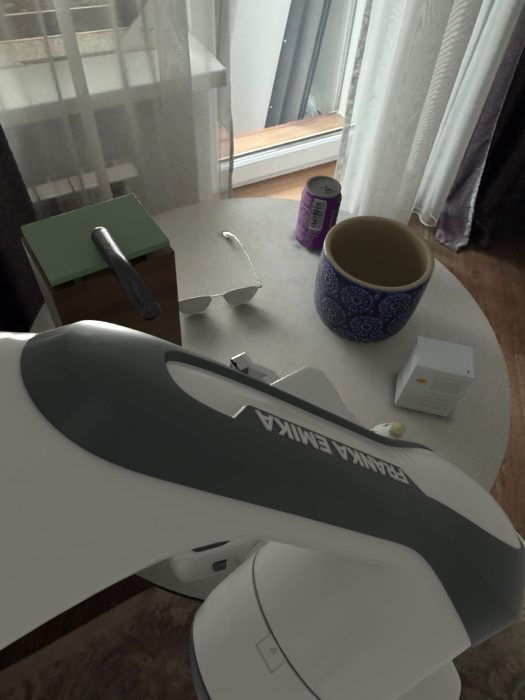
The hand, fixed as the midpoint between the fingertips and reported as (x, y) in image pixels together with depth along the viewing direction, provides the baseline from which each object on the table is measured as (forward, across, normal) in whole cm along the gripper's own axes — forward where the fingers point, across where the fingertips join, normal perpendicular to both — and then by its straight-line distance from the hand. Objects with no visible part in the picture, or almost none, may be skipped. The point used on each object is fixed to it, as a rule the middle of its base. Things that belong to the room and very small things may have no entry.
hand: (191, 380), depth 45 cm
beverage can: (+32, -43, +25) cm, 59 cm away
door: (+17, 0, 0) cm, 17 cm away
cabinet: (+22, 0, +25) cm, 34 cm away
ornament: (-9, -23, +25) cm, 35 cm away
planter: (+13, -37, +25) cm, 47 cm away
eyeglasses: (+34, -20, +25) cm, 47 cm away
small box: (-5, -36, +25) cm, 44 cm away
